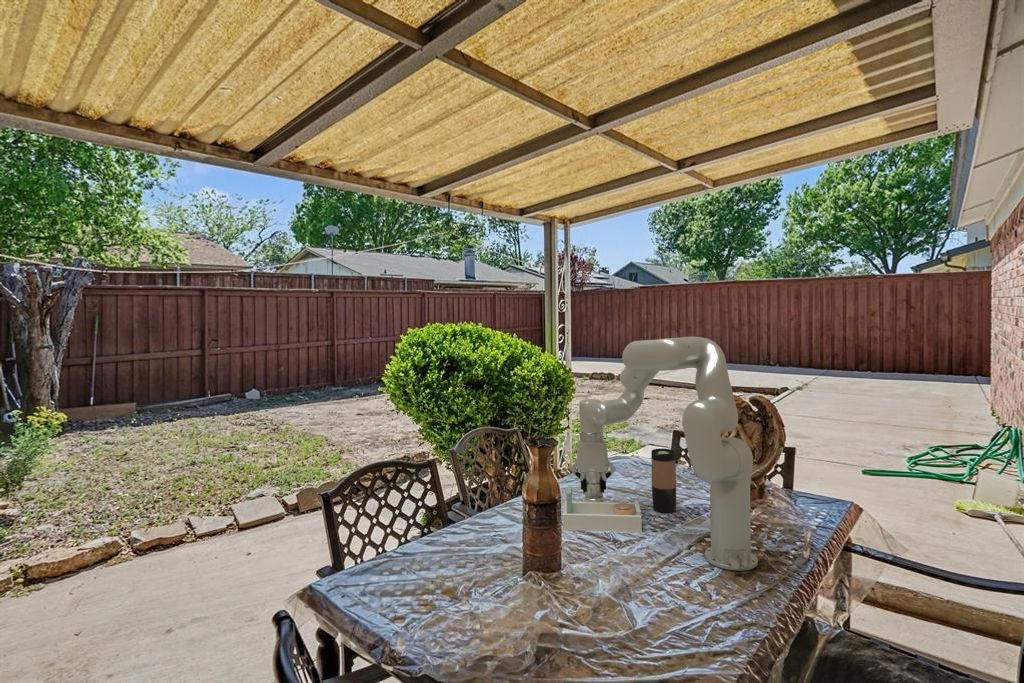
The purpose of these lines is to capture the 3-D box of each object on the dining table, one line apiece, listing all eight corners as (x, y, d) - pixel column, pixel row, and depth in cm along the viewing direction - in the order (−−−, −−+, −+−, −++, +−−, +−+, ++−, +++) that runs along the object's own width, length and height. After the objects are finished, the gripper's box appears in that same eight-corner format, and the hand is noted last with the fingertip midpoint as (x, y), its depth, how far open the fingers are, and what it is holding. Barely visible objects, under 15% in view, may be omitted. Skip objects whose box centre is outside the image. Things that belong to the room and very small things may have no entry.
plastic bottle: (604, 514, 169) (602, 452, 168) (583, 513, 170) (581, 452, 170) (605, 507, 175) (603, 448, 175) (584, 507, 176) (582, 448, 176)
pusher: (571, 526, 158) (570, 493, 157) (567, 526, 158) (566, 493, 158) (572, 516, 166) (571, 484, 166) (568, 516, 166) (567, 484, 166)
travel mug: (674, 507, 174) (672, 448, 173) (679, 516, 166) (677, 454, 166) (650, 507, 175) (649, 448, 174) (654, 516, 167) (653, 454, 166)
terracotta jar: (634, 527, 156) (634, 509, 156) (614, 527, 157) (614, 508, 157) (633, 520, 162) (632, 502, 162) (613, 519, 163) (613, 502, 163)
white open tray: (641, 534, 153) (641, 513, 153) (563, 532, 156) (562, 511, 156) (638, 519, 165) (637, 499, 165) (565, 517, 168) (564, 498, 168)
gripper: (565, 439, 170) (567, 495, 170) (618, 439, 167) (620, 495, 167) (566, 435, 177) (568, 488, 177) (617, 434, 174) (619, 488, 175)
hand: (593, 491), depth 172 cm, fingers closed on plastic bottle, 5 cm apart
